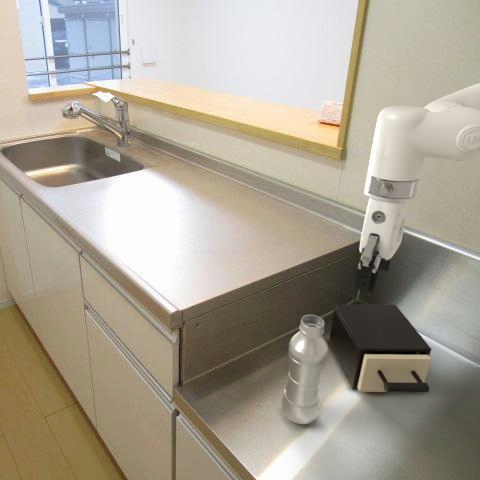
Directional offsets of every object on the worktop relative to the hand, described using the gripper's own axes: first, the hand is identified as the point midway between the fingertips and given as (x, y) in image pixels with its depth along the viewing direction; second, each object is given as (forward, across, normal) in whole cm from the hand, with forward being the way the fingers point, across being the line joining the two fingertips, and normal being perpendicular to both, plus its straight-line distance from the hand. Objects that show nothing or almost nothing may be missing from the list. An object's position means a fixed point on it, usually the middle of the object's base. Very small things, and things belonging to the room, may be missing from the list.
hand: (371, 278), depth 80 cm
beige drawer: (+21, +2, -5) cm, 22 cm away
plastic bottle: (+22, -16, +4) cm, 28 cm away
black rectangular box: (+22, +6, -2) cm, 23 cm away
